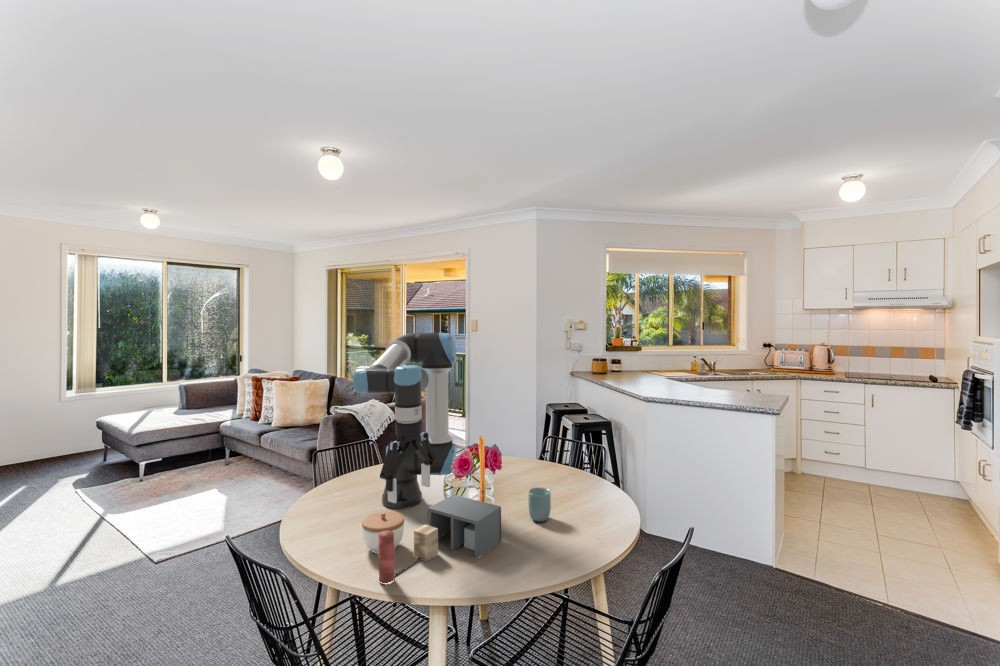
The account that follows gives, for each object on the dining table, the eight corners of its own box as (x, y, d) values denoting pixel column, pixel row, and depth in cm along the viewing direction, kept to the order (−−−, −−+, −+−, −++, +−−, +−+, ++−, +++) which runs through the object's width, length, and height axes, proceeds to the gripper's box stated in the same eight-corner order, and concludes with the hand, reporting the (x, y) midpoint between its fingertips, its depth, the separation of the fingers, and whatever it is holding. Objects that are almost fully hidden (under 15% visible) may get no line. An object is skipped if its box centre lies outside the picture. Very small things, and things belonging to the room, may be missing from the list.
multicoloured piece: (374, 581, 131) (374, 534, 130) (425, 550, 148) (424, 508, 147) (388, 587, 128) (387, 539, 127) (438, 554, 145) (437, 511, 145)
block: (464, 547, 150) (464, 528, 150) (473, 540, 154) (473, 522, 154) (477, 551, 147) (477, 532, 147) (486, 544, 151) (486, 525, 151)
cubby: (428, 542, 153) (428, 507, 153) (453, 526, 164) (453, 494, 164) (477, 558, 143) (477, 521, 142) (501, 540, 154) (501, 506, 153)
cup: (549, 525, 165) (549, 496, 164) (527, 523, 166) (526, 494, 166) (551, 515, 172) (551, 488, 172) (530, 514, 174) (530, 486, 173)
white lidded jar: (383, 562, 140) (382, 525, 140) (353, 551, 147) (352, 516, 147) (413, 545, 151) (412, 510, 151) (384, 535, 158) (383, 502, 157)
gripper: (385, 431, 125) (386, 512, 126) (447, 413, 145) (447, 482, 147) (365, 428, 129) (366, 505, 130) (428, 410, 150) (429, 478, 151)
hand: (409, 493), depth 138 cm, fingers open, 13 cm apart
